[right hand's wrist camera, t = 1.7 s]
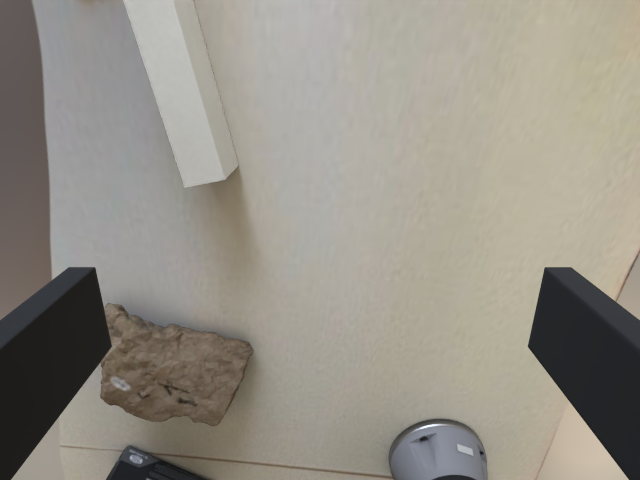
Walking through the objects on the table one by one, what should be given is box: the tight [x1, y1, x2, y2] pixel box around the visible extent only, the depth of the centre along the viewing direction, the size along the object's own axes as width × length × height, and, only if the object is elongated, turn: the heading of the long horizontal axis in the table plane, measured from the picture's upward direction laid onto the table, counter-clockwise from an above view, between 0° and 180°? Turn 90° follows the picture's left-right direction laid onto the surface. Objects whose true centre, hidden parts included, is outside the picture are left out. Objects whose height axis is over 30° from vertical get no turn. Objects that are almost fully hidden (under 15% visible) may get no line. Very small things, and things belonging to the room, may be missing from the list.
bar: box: [123, 0, 239, 188], centre depth 45 cm, size 22×4×8 cm, turn 12°
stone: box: [100, 303, 254, 426], centre depth 60 cm, size 21×15×6 cm
